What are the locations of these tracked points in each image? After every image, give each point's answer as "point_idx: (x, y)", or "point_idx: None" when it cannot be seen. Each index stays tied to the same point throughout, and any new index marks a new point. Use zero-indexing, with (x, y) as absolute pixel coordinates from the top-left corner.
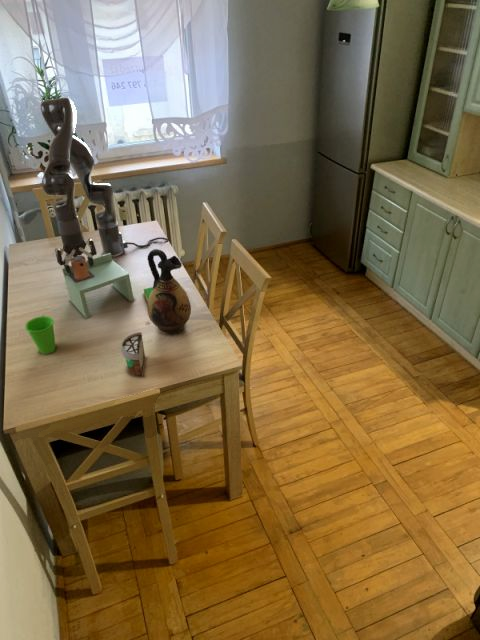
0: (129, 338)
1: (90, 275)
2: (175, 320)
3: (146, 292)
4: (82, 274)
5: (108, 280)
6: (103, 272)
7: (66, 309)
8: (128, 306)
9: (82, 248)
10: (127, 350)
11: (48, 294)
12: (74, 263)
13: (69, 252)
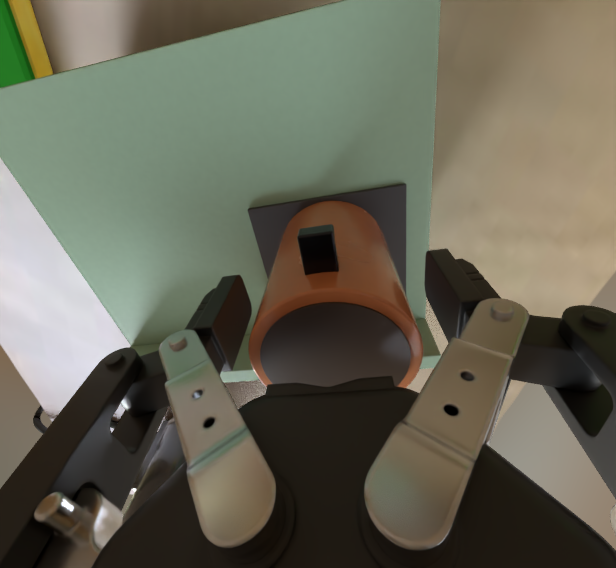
0: None
1: (273, 232)
2: None
3: (22, 80)
4: (333, 215)
5: (135, 65)
6: (181, 234)
7: (432, 188)
8: (149, 37)
9: (194, 489)
10: None
11: (440, 326)
12: (397, 296)
13: (486, 480)
